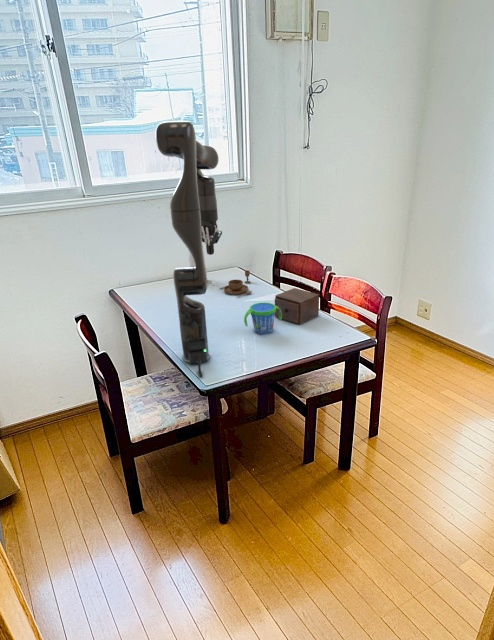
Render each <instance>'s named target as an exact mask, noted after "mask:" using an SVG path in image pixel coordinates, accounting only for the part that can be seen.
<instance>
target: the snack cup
mask: <svg viewBox="0 0 494 640" xmlns="http://www.w3.org/2000/svg"><path fill="white" fill-rule="evenodd" d="M276 309H279V318H278V320H279V321H282V320H283V319H282V312H281V310H280V308H278V307H277V306H275V303H271V302H256V303H253V304H252V305H250V306H249V309H248V310H247V311H246V312H245V313H244V319H243V322H244V325H245V326H246V327H248V325H249V324H248V321H247V318H248V317H249V315H251V320H252V327H253V330H254V332H255V333H258V334H262V335H264V334H270V333H272V331H273V330H274V323H275V318H276V316H275V312H276Z"/></svg>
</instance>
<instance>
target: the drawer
mask: <svg viewBox="0 0 494 640" xmlns="http://www.w3.org/2000/svg"><path fill="white" fill-rule="evenodd" d="M274 305H275V306H277V307H278V308H280V310H281V312H282V318H283V319H282V320H284V319H286V320H285V321H287V320H289V321H288V322H290V321H292V322H291V323H293V322H295V323H294V324H296V323H299V304H297V303H294V302H290V301H287V300H283V299H279V298H274ZM278 317H279V309H276V312H275V318H278Z"/></svg>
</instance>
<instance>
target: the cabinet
mask: <svg viewBox="0 0 494 640" xmlns="http://www.w3.org/2000/svg"><path fill="white" fill-rule="evenodd" d="M274 296H275V298H279V299H283V300H287V301H290V302H294V303H297V304H299V323H295V322H292V321H289V320H286V319H283V318H282V319H281V320H284V321H287V322H290V323H294V324H297V325H303V324H305V323H307V322H309V321H311V320H313V319H315V318H317V317H319V309H320V307H319V306H320V294H319V293H315V292H312V291H308V290H304V289H299V288H296V287H294V288H291V289H288V290H285V291H283V292H280V293H278V294H276V295H274ZM275 298H274V299H275ZM277 319H279V317H277Z"/></svg>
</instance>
